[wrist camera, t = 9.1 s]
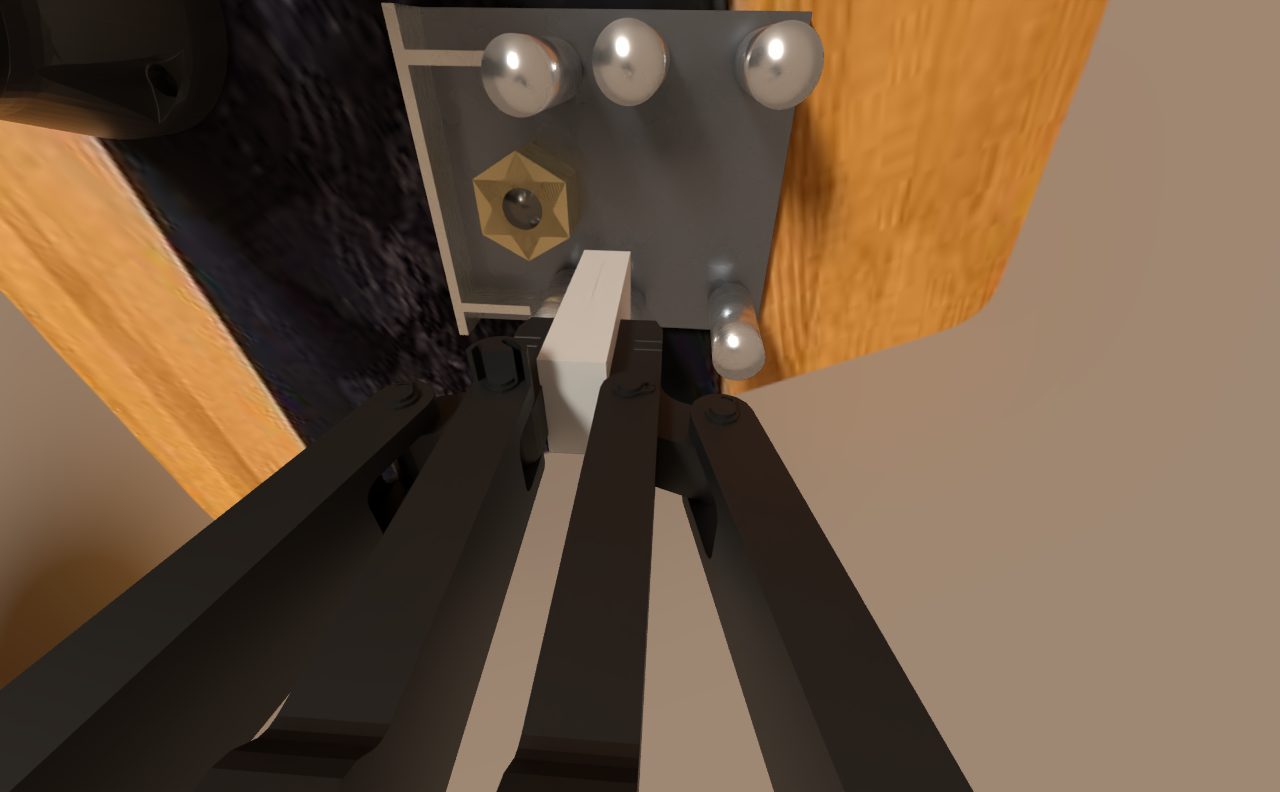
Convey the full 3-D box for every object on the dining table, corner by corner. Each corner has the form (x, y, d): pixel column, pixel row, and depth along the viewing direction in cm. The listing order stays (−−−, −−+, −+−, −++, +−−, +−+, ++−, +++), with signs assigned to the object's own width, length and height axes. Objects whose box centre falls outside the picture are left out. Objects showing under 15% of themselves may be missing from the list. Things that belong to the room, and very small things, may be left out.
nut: (503, 242, 30) (486, 259, 28) (486, 140, 27) (467, 149, 24) (580, 245, 30) (571, 262, 28) (574, 142, 27) (563, 152, 24)
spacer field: (473, 312, 34) (425, 371, 28) (408, 7, 24) (311, -7, 18) (754, 326, 33) (769, 391, 27) (808, 12, 23) (853, -1, 17)
